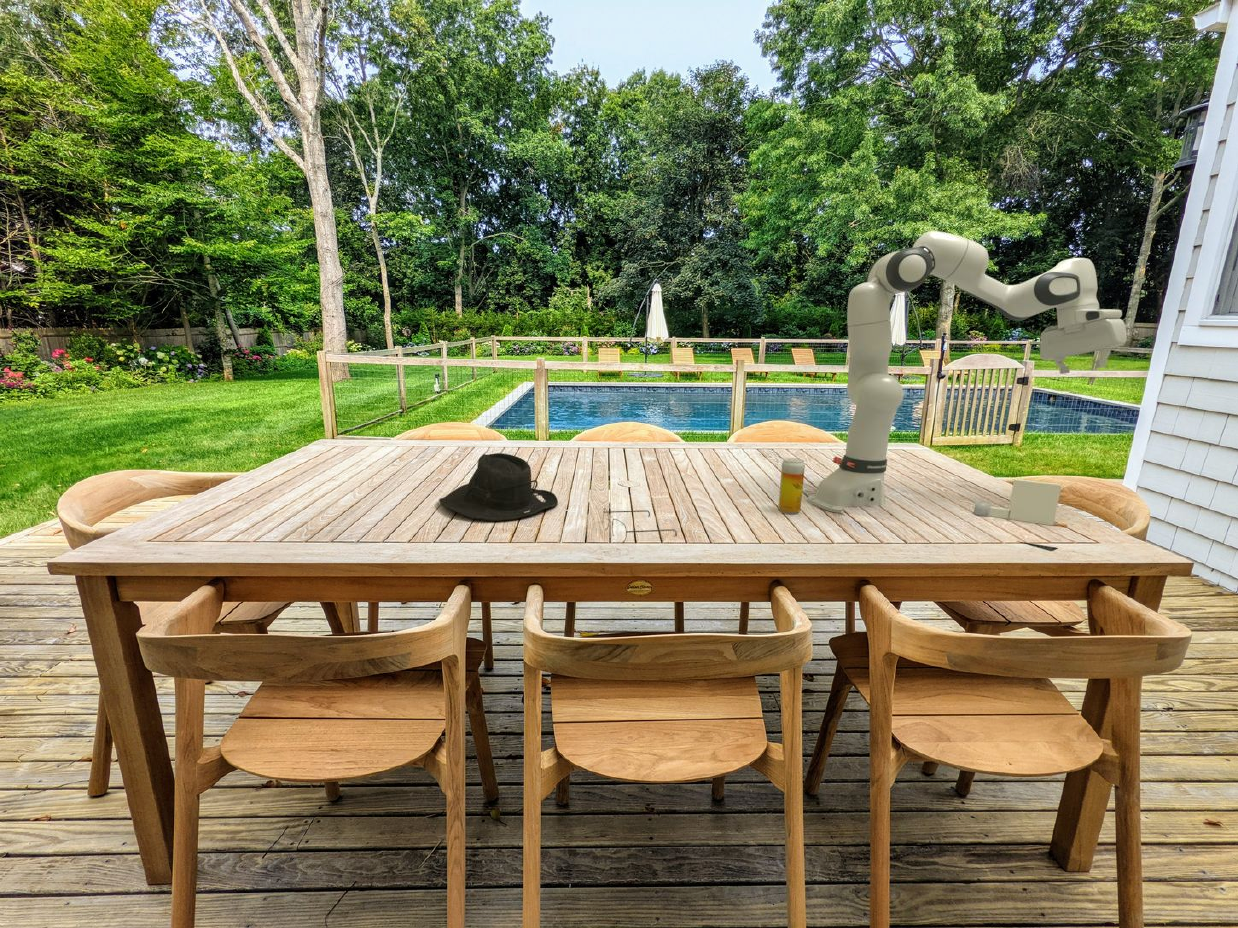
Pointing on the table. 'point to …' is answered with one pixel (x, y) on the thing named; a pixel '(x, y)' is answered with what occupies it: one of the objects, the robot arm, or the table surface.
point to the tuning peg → (1027, 503)
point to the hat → (499, 491)
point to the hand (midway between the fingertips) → (1082, 370)
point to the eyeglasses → (625, 526)
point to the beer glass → (791, 485)
